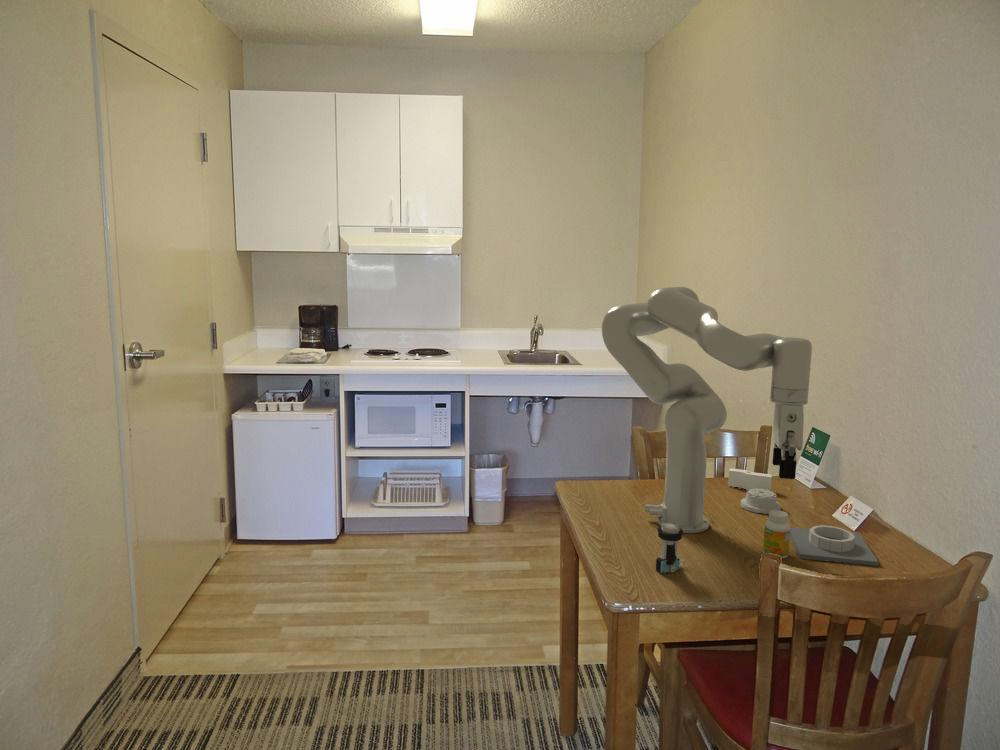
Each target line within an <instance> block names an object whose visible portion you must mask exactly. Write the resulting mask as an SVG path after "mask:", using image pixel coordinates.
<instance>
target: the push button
mask: <svg viewBox="0 0 1000 750" xmlns="http://www.w3.org/2000/svg"><path fill="white" fill-rule="evenodd" d="M656 530H657V532H658V535H657V537H658V538H660V539H661V551H660V552H661V553H660V557H657V558H656V560H655V570H656V571H658V572H659V573H661V574H662V573H664V574H666V573H665V572H668V573H675V572H676V571H679V570H680V567H681V566H684V564H683V563H681V562H684V559H682V558H680V557H678V542H679V541H680V540H682V538H683V535H684V533H683V530H682V529H681V528H679V525H677V524H675V523H663V524H662V526H660V525H659V527H657V529H656ZM678 569H679V570H678ZM675 570H676V571H675ZM670 571H671V572H670Z"/></svg>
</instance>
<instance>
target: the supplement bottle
mask: <svg viewBox="0 0 1000 750" xmlns="http://www.w3.org/2000/svg"><path fill="white" fill-rule="evenodd" d="M788 520H789V513H788V512H786V511H783V510H772V511H770V512H769V514H768V519H767V520H766V521H765V523H764V531H763V543H762V553H763V554H764V553H772V554H777V555H780V556H781V557H782V558H783V559H786V558H788V556H789V549H790V540H791V537H790V527H791V525H790V523H789V522H788Z"/></svg>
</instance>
